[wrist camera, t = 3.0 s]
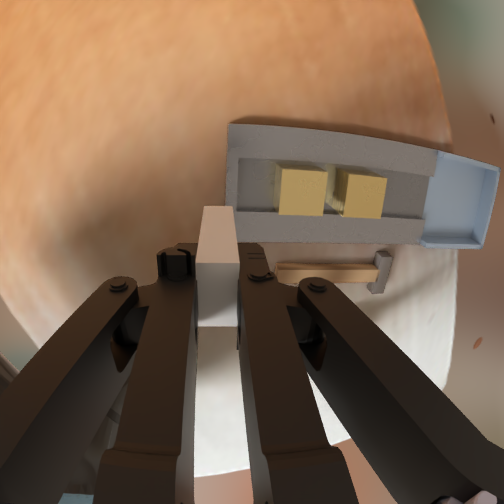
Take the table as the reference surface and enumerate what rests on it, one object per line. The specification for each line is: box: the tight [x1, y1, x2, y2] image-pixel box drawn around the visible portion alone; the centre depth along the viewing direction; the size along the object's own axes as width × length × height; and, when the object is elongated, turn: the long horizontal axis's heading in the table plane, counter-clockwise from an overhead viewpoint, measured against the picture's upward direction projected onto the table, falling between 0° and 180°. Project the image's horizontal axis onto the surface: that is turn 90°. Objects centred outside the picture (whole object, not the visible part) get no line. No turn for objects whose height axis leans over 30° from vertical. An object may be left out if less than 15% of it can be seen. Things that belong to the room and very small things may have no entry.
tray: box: [420, 148, 501, 249], centre depth 31 cm, size 11×11×3 cm
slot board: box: [225, 123, 438, 245], centre depth 30 cm, size 22×11×2 cm, turn 87°
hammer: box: [275, 252, 393, 294], centre depth 34 cm, size 13×5×2 cm, turn 86°
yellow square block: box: [273, 163, 328, 216], centre depth 28 cm, size 4×4×3 cm
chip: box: [332, 168, 387, 219], centre depth 28 cm, size 4×4×3 cm
